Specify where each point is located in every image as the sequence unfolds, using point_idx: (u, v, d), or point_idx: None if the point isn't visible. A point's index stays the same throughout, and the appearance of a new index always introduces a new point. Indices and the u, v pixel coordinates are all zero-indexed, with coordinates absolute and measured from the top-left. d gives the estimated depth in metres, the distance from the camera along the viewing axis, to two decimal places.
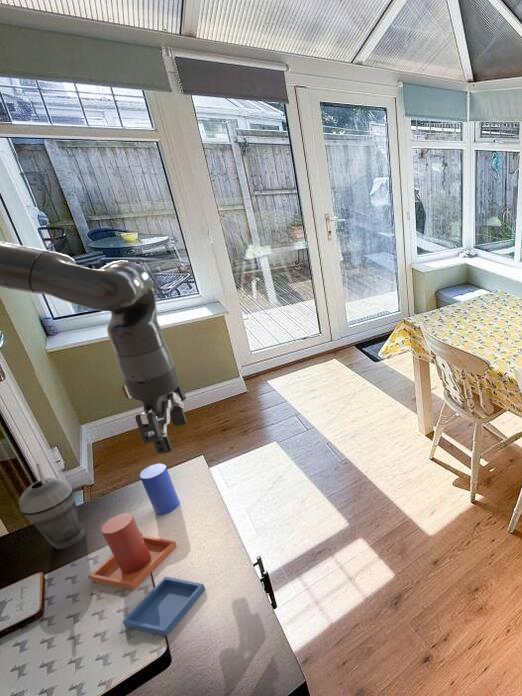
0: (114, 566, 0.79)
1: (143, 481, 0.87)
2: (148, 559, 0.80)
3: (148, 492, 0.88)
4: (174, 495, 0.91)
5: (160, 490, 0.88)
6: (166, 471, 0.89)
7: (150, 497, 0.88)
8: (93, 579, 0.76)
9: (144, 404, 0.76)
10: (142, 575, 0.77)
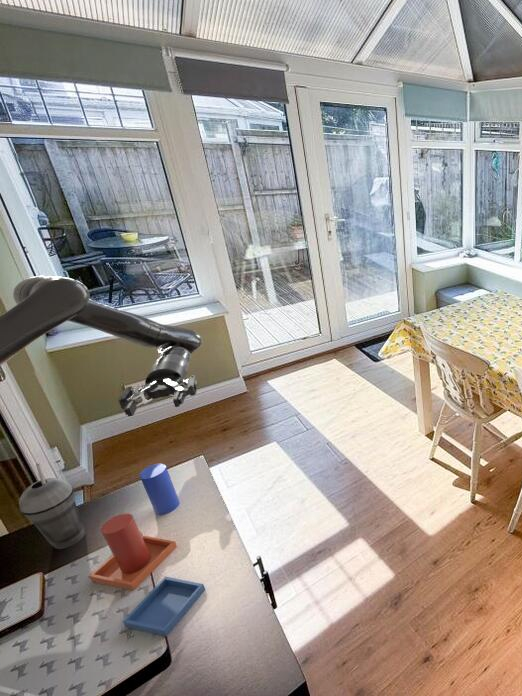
0: (114, 566, 0.79)
1: (143, 481, 0.87)
2: (148, 559, 0.80)
3: (148, 492, 0.88)
4: (174, 495, 0.91)
5: (160, 490, 0.88)
6: (166, 471, 0.89)
7: (150, 497, 0.88)
8: (93, 579, 0.76)
9: (181, 378, 1.03)
10: (142, 575, 0.77)
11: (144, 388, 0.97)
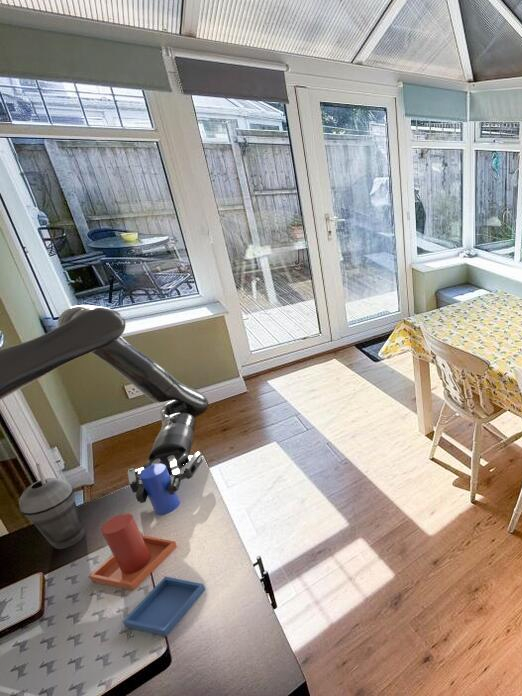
0: (114, 566, 0.79)
1: (143, 481, 0.87)
2: (148, 559, 0.80)
3: (148, 492, 0.88)
4: (174, 495, 0.91)
5: (160, 490, 0.88)
6: (166, 471, 0.89)
7: (150, 497, 0.88)
8: (93, 579, 0.76)
9: (186, 452, 0.98)
10: (142, 575, 0.77)
11: None
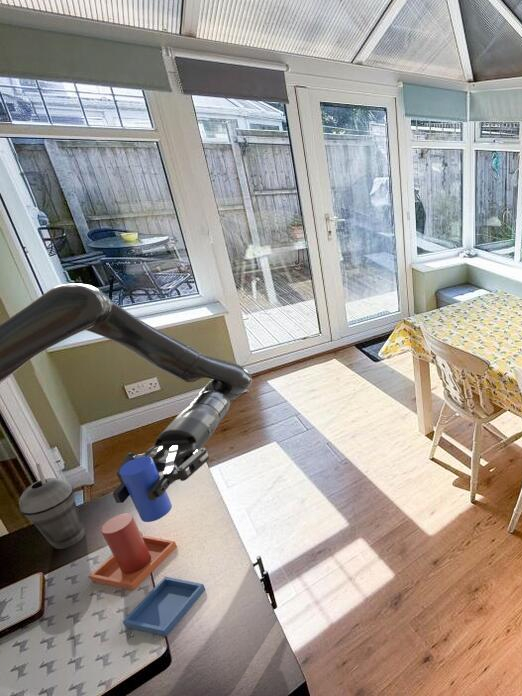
0: (114, 566, 0.79)
1: (121, 477, 0.68)
2: (148, 559, 0.80)
3: (128, 491, 0.70)
4: (161, 499, 0.73)
5: (140, 492, 0.70)
6: (151, 469, 0.70)
7: (131, 497, 0.70)
8: (93, 579, 0.76)
9: (195, 444, 0.80)
10: (142, 575, 0.77)
11: None
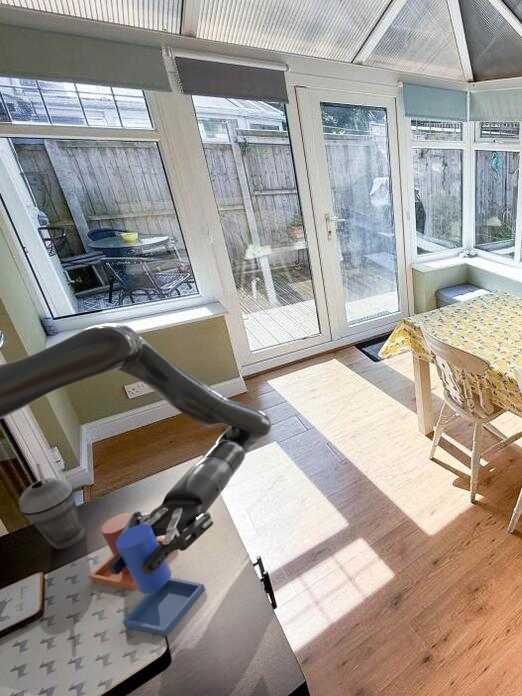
0: None
1: (117, 548, 0.65)
2: None
3: None
4: (158, 570, 0.68)
5: (136, 565, 0.66)
6: (148, 541, 0.66)
7: None
8: (93, 579, 0.76)
9: (200, 506, 0.76)
10: None
11: (150, 522, 0.71)
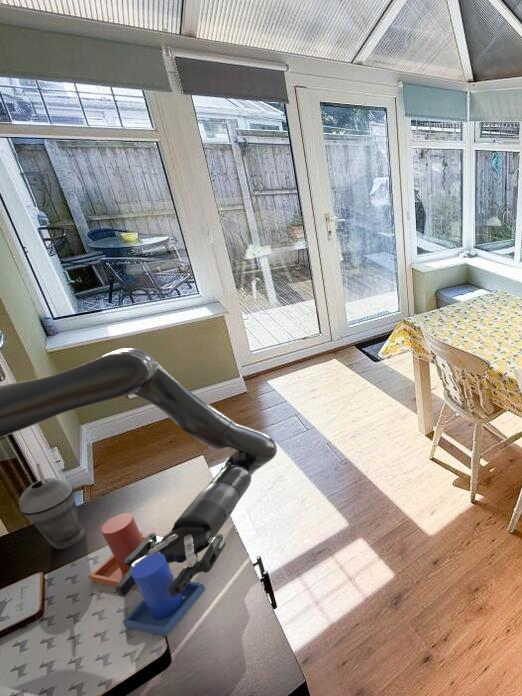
0: (114, 566, 0.79)
1: (133, 578, 0.68)
2: None
3: (139, 590, 0.69)
4: (171, 597, 0.71)
5: (150, 593, 0.69)
6: (162, 570, 0.69)
7: (142, 596, 0.69)
8: (93, 579, 0.76)
9: (209, 533, 0.78)
10: None
11: (159, 547, 0.74)
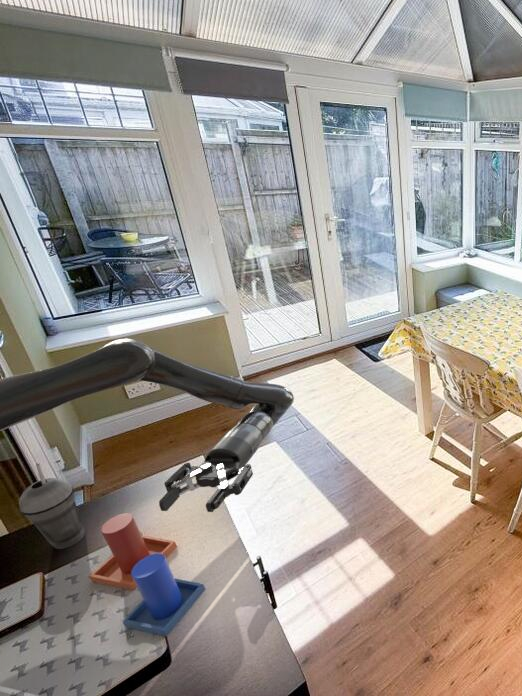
0: (114, 566, 0.79)
1: (133, 578, 0.68)
2: None
3: (139, 590, 0.69)
4: (171, 597, 0.71)
5: (150, 593, 0.69)
6: (162, 570, 0.69)
7: (142, 596, 0.69)
8: (93, 579, 0.76)
9: (238, 463, 0.87)
10: None
11: (194, 473, 0.83)
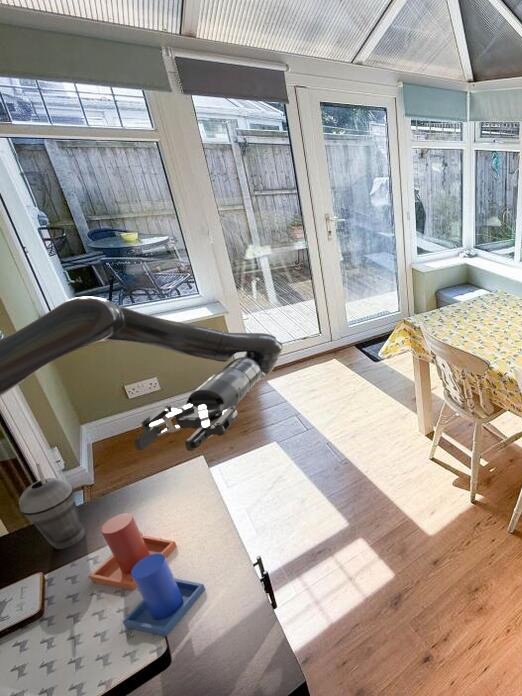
0: (114, 566, 0.79)
1: (133, 578, 0.68)
2: None
3: (139, 590, 0.69)
4: (171, 597, 0.71)
5: (150, 593, 0.69)
6: (162, 570, 0.69)
7: (142, 596, 0.69)
8: (93, 579, 0.76)
9: (222, 406, 0.81)
10: None
11: (174, 413, 0.77)
